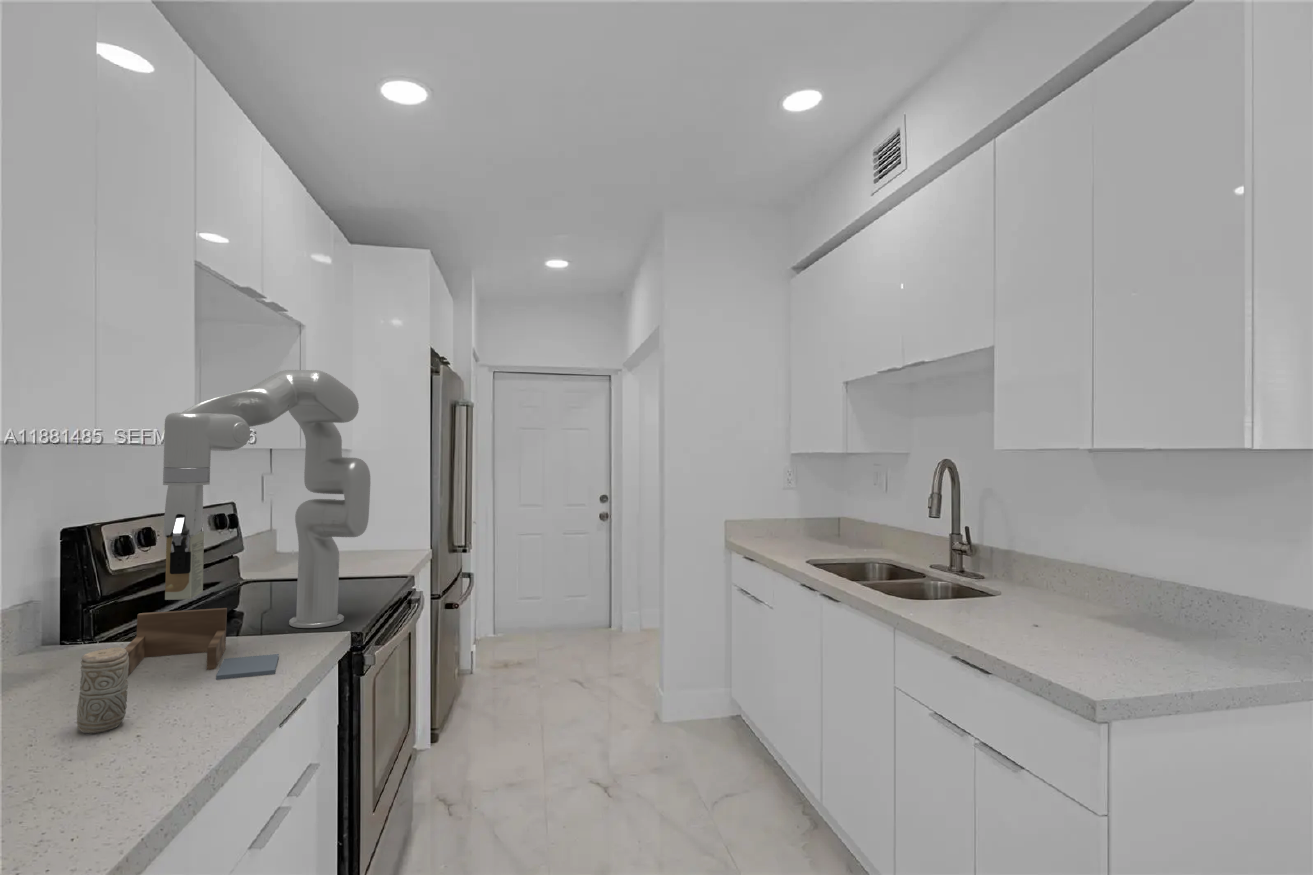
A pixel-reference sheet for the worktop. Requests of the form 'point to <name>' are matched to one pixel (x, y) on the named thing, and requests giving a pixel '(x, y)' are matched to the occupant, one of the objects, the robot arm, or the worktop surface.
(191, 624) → the shelf bay
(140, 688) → the worktop surface
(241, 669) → the slate pad
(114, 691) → the carving
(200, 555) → the skincare box
